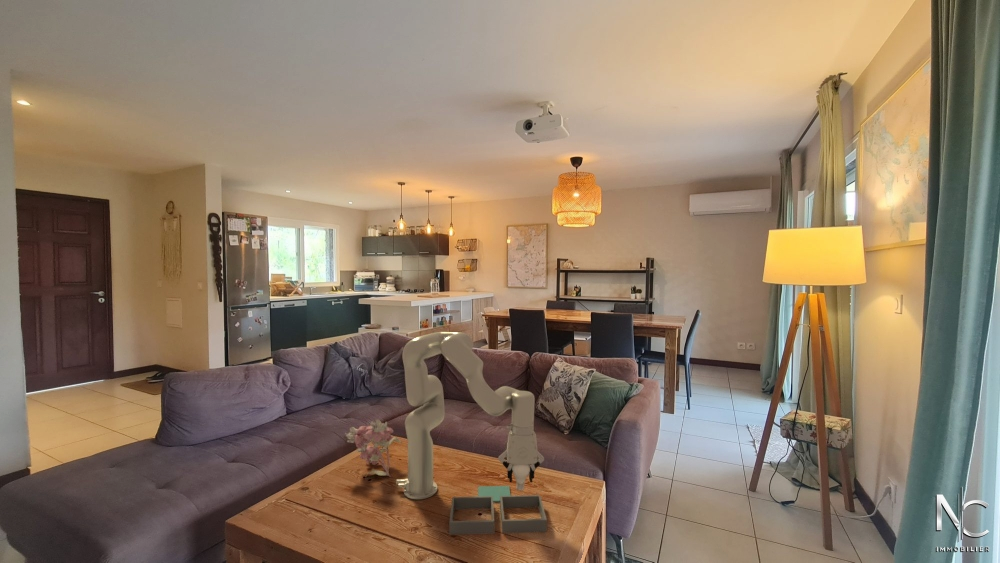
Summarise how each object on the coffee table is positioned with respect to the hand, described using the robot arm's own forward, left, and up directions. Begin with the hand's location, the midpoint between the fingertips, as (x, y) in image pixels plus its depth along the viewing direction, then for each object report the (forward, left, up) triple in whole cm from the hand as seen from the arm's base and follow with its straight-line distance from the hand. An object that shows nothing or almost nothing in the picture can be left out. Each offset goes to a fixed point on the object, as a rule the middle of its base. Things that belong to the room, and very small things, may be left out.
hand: (520, 479), depth 140 cm
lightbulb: (0, 0, -4) cm, 4 cm away
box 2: (+1, 0, -13) cm, 13 cm away
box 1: (-16, 0, -13) cm, 21 cm away
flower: (-58, +37, -14) cm, 70 cm away
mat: (-8, +15, -13) cm, 22 cm away
